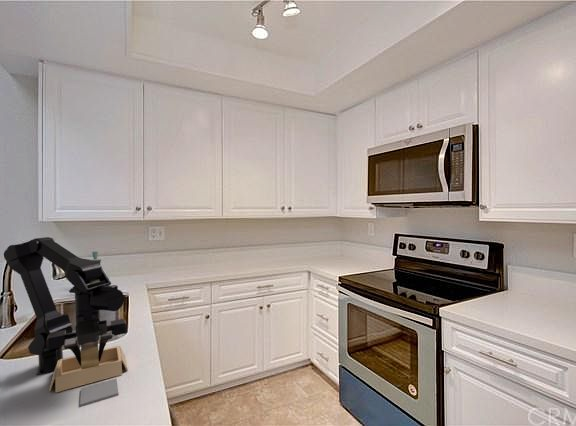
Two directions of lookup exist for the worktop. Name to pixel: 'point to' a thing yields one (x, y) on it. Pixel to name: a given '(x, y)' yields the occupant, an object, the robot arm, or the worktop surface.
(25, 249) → the robot arm
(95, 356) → the block
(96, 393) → the mat
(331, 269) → the worktop surface
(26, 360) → the worktop surface
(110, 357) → the carton
